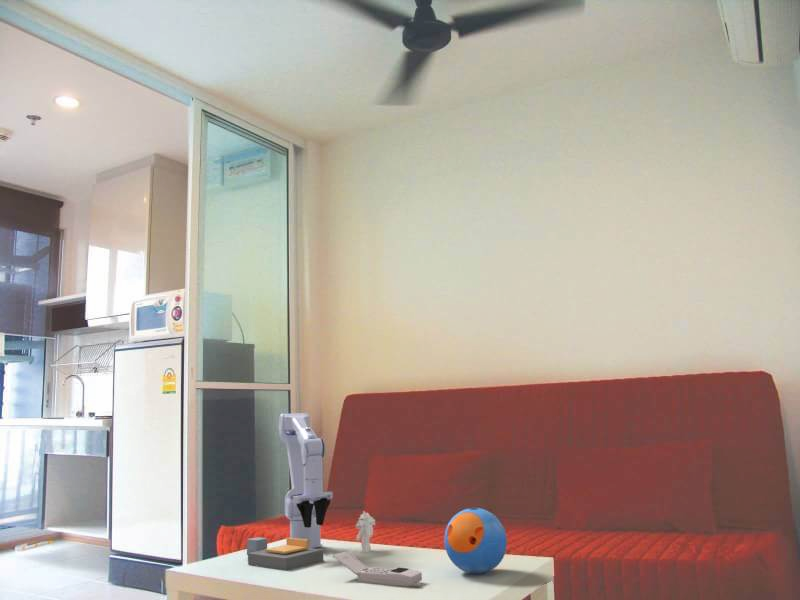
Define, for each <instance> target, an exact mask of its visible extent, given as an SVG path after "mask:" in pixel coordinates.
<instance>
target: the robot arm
mask: <svg viewBox="0 0 800 600" xmlns="http://www.w3.org/2000/svg"><path fill="white" fill-rule="evenodd" d="M310 426H311V417H310V415H309V413H308V412H302V413H300V412H299V413H281V414H280V415H279V417H278V433H279V438H280V441H281V442H283V443H285V447H286V451H287V459H288V460H287V462H288V467H289V477H290V482H291V489H290V490H289V491H288V492H287V493H286V494H285V497H284V515H285V517H286V518H287V519H288V520H289V538H297V539H307V540H309V548H314V549H317V548H319V547H323V544H321V540H322V539H321V538H322V537H321V526H323V525H324V521H325V517H326V515H327V514H326V513H327V510H328V507H329V506H330V504H331V500H332V499H333V498H334V497H333V496H334V495H333V494H334V493H333V491H324V484H323V483H324V481H323V480H324V478H323V476H324V475H323V474H324V473H323V468H324V467H323V458H324V456H325V453H326V452H325V451H326V444H325V440H324V438H323V437H318V436H317V434H316V433H315V431H314V430H313V429H312V428H311V427H310ZM330 499H331V500H330Z"/></svg>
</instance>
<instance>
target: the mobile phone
mask: <svg viewBox="0 0 800 600" xmlns="http://www.w3.org/2000/svg"><path fill="white" fill-rule="evenodd" d="M332 557H334V558H335V560H336V561H338V562H339V563H341V564H342V565H343V566H345V567H346V569H348V570H350V571H351V572H352V573H354V574H355V575H356V576H357V581H358V582H359V583H365V584H366V583H368V584H375V585H385V586H393V587H394V586H395V587H416V588H417V587H422V583H420V582H421V581H422V579H423V578H422V577H423V576H422V575H423V574H422V571H420V570H418V569H417V570H416V569H413V568H407V567H399V566H398V567H397V568H384V567H368V566H367V565H366V564H364V563H363V562H362V561H361V560H359V559H358V558H357V557H355V556H354V554H352V553H351V552H349V551H347V550H346V551H344V552H341V553H337V554H334V555H333V556H332Z"/></svg>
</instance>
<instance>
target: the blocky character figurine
mask: <svg viewBox="0 0 800 600" xmlns="http://www.w3.org/2000/svg"><path fill="white" fill-rule="evenodd" d="M373 526H374V527H375V526H376V519H374V517H372V515H370V514H369V512H366V511H364V510H363V512H362V514H360V516H359V517H358V520H357V522H356V523H355V528H356V529H357V530H359V531H358V534H357V536H356V537H355V540H356V542H357V543H358V542H359V541H360V539H361V549H359V553H368V552H369V551H372V547H371V543H370V538H372V537H373V536H374V534H373V533H374V527H373Z"/></svg>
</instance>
